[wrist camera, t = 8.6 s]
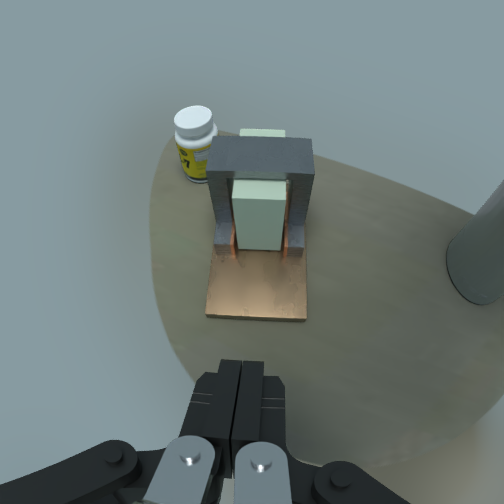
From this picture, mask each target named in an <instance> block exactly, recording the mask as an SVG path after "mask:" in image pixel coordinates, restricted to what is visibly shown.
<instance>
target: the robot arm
mask: <svg viewBox="0 0 504 504" xmlns="http://www.w3.org/2000/svg"><path fill="white" fill-rule="evenodd" d="M447 267H448V271H449V274H450V277H451V279H452V281H453V283H454V285H455V286H456V288H457V289H458V291H459V292H460V293H461V294H462V295H463V296H464V297H465V298H467V299H468V300H469V301H471V302H473V303H475V304H480V305H484V304H489V303H491V302H493V301H495V300H496V299H498V298H499V297H501V296H502V295H504V180H503V182H502V183H501V184H500V185H499V186H498V188H497V189H496V190H495V191H494V193H493V194H492V195H491V196H490V198H489V199H488V200H487V201H486V203H485V204H484V205H483V206H482V207H481V208H480V210H479V211H478V212H477V213H476V214H475V215H474V217H473V218H472V219H471V220H470V221H469V222H468V223H467V224H466V226H465V227H464V228H463V229H462V230H461V231H460V232H459V233H458V234H457V236H456V237H455V238H454V239H453V240H452V241H451V243H450V245H449V246H448V250H447ZM263 373H264V362H259V361H243V366H242V361H239V360H224V359H221V362H220V365H219V369H218V373H211V372H205V373H204V374H203V375H202V376H201V377H200V378H199V379H198V380H197V382H196V385H195V388H194V391H193V394H192V397H191V401H190V403H189V407H188V410H187V413H186V416H185V419H184V422H183V425H182V429H181V432H180V435H179V437H178V438H176V439H175V440H173V441H172V442H170V444H169V445H168V446H167V447H166V448H164V449H160V450H153V451H135V449H134V448H133V447H132V446H131V445H130V444H128V443H127V442H124V441H120V440H109V441H106V442H103V443H101V444H99V445H97V446H94V447H92V448H91V449H88V450H86V451H84V452H81V453H79V454H77V455H75V456H73V457H70V458H68V459H66V460H63V461H61V462H59V463H56V464H54V465H52V466H49V467H46V468H44V469H42V470H39V471H36V472H34V473H31V474H29V475H26V476H23V477H21V478H18V479H15V480H13V481H10V482H7V483H4V484H1V485H0V504H219V502H220V499H221V492H222V487H223V480H224V478H232V472H233V475H234V479H235V484H234V504H410V503H409V502H407V501H406V500H404V499H403V498H401V497H399V496H398V495H397V494H395V493H394V492H392V491H391V490H390V489H388V488H387V487H385V486H384V485H382V484H381V483H380V482H378V481H377V480H376V479H374V478H372V477H371V476H370V475H369V474H367V473H366V472H364V471H363V470H362V469H361V468H359V467H358V466H356V465H355V464H352V463H350V462H345V461H335V462H331V463H328V464H326V465H324V466H323V467H317V466H313V465H309V464H305V463H302V462H300V461H298V460H296V459H295V458H294V457H292V456H291V455H290V453H289V452H288V450H287V448H286V443H285V386H284V385H283V383H282V381H281V380H280V378H279V377H278V376H263Z"/></svg>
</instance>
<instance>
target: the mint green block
mask: <svg viewBox="0 0 504 504" xmlns="http://www.w3.org/2000/svg"><path fill="white" fill-rule="evenodd" d="M240 136H265V137H285V130H270V129H240ZM232 203H233V211H234V219H235V227H236V235H237V242H238V249H255V250H279V251H280V248H281V240H282V231H283V222H284V213H285V204H286V179H262V178H234V184H233V193H232Z"/></svg>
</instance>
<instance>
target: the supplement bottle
mask: <svg viewBox="0 0 504 504" xmlns="http://www.w3.org/2000/svg"><path fill="white" fill-rule="evenodd" d="M174 124H175V129H176V133H175V140H176V144H177V148H178V151H179V155H180V159H181V162H182V165H183V169H184V172H185V175H186V176H187V178H188V179H190V180H191V181H193V182H197V183H204V182H208V181H207V176H206V171H205V170H206V165H207V160H208V156H209V151H210V146H211V141H212V137H213V136H219V135H218V129H217V127H216V125H215V124H214V123H213V117H212V113H211V111H210V110H209V109H208V108H206V107H204V106H190V107H187V108H185V109H182V110H181V111H179V112H178V113H177V114H176V116H175V118H174Z"/></svg>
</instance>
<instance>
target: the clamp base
mask: <svg viewBox="0 0 504 504" xmlns="http://www.w3.org/2000/svg"><path fill="white" fill-rule="evenodd" d="M205 171H206V176H207V181H208V185H209V190H210V195H211V200H212V204H213V209H214V213H215V218H216V229H215V237H214V244H213V252H212V260H211V268H210V276H209V284H208V293H207V301H206V310H205V314H206V316H207V317H210V318H225V319H242V320H262V321H289V322H305V320H306V319H307V293H306V237H305V218H306V214H307V209H308V204H309V200H310V195H311V190H312V185H313V180H314V175H315V172H314V161H313V150H312V140H311V139H306V138H289V137H265V136H213V137H212V141H211V146H210V151H209V156H208V160H207V165H206V170H205ZM234 178H262V179H287V180H289V184H286V204H285V213H284V222H283V231H282V240H281V248H280V251H279V250H255V249H238V242H237V235H236V227H235V219H234V211H233V203H232V193H233V184H234Z"/></svg>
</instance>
